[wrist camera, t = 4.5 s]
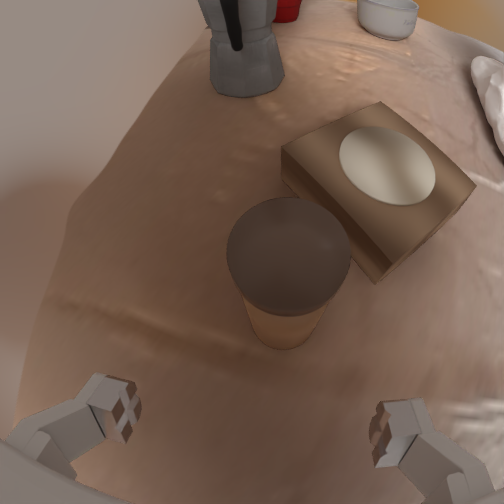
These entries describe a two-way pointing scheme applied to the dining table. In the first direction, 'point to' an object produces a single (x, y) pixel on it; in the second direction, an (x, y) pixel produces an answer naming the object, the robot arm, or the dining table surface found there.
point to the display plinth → (377, 184)
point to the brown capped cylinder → (287, 267)
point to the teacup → (388, 17)
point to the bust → (491, 93)
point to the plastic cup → (287, 11)
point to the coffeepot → (243, 46)
